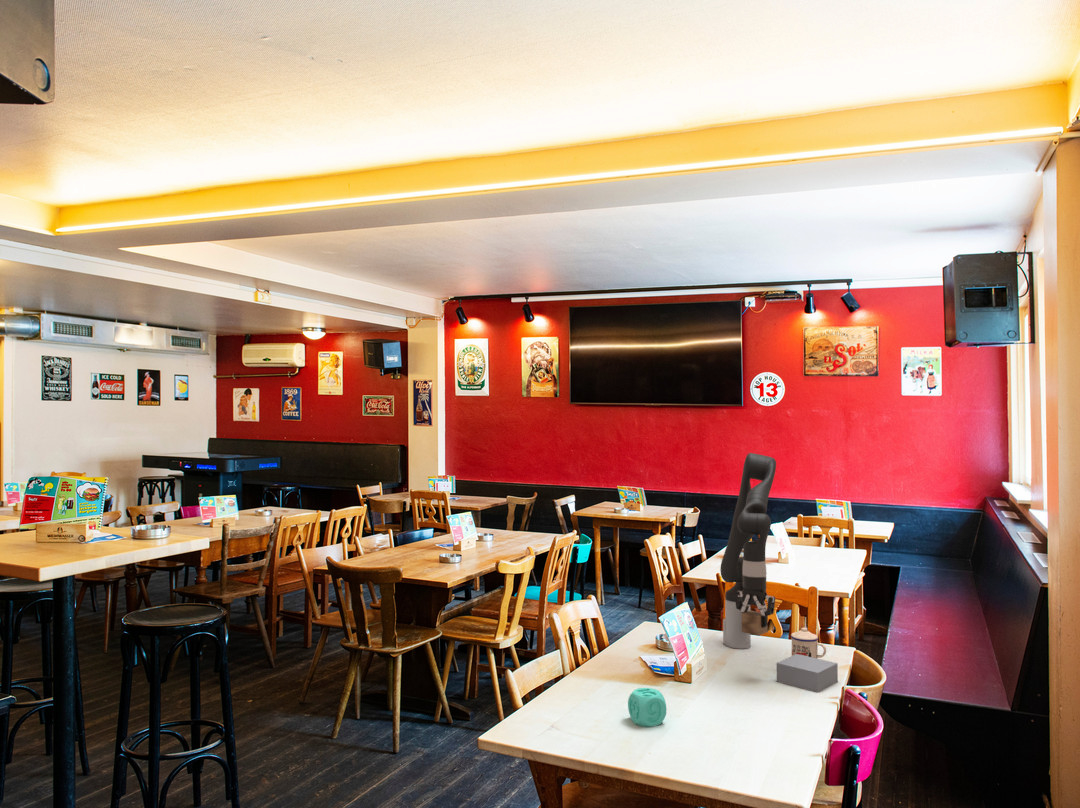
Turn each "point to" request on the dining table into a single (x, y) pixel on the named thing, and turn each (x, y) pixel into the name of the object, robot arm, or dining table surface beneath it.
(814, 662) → the slate plinth
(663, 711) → the decorative dice
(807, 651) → the teacup with lid
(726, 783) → the dining table surface
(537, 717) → the dining table surface
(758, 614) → the walnut cube
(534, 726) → the dining table surface
